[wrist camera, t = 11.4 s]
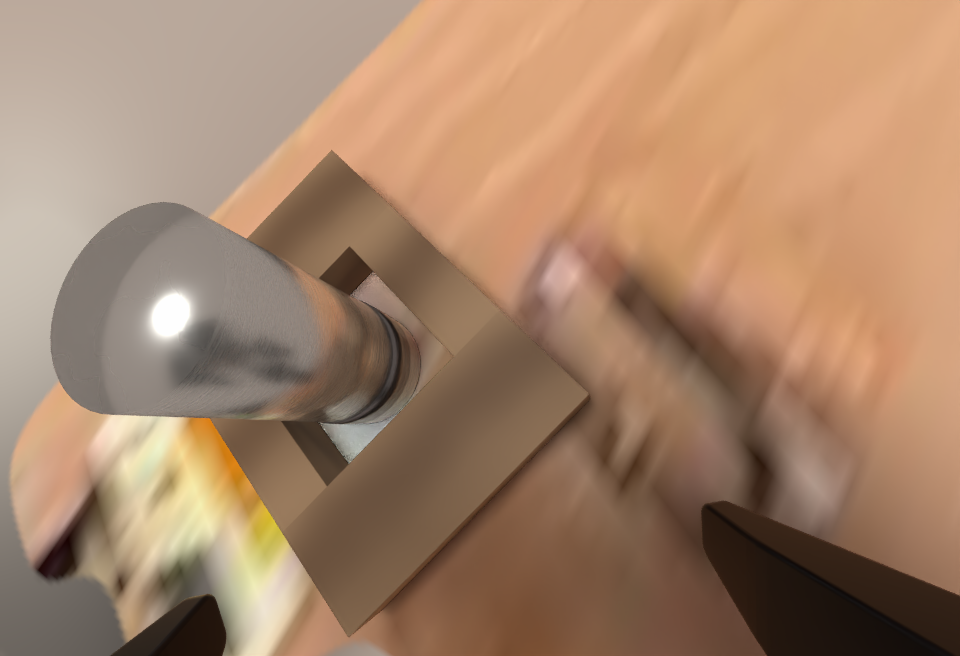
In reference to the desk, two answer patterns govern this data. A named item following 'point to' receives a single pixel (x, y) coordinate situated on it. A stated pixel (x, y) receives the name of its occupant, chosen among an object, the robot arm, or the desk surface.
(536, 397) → the brown picture frame
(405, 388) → the chrome banded cylinder
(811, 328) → the desk surface
